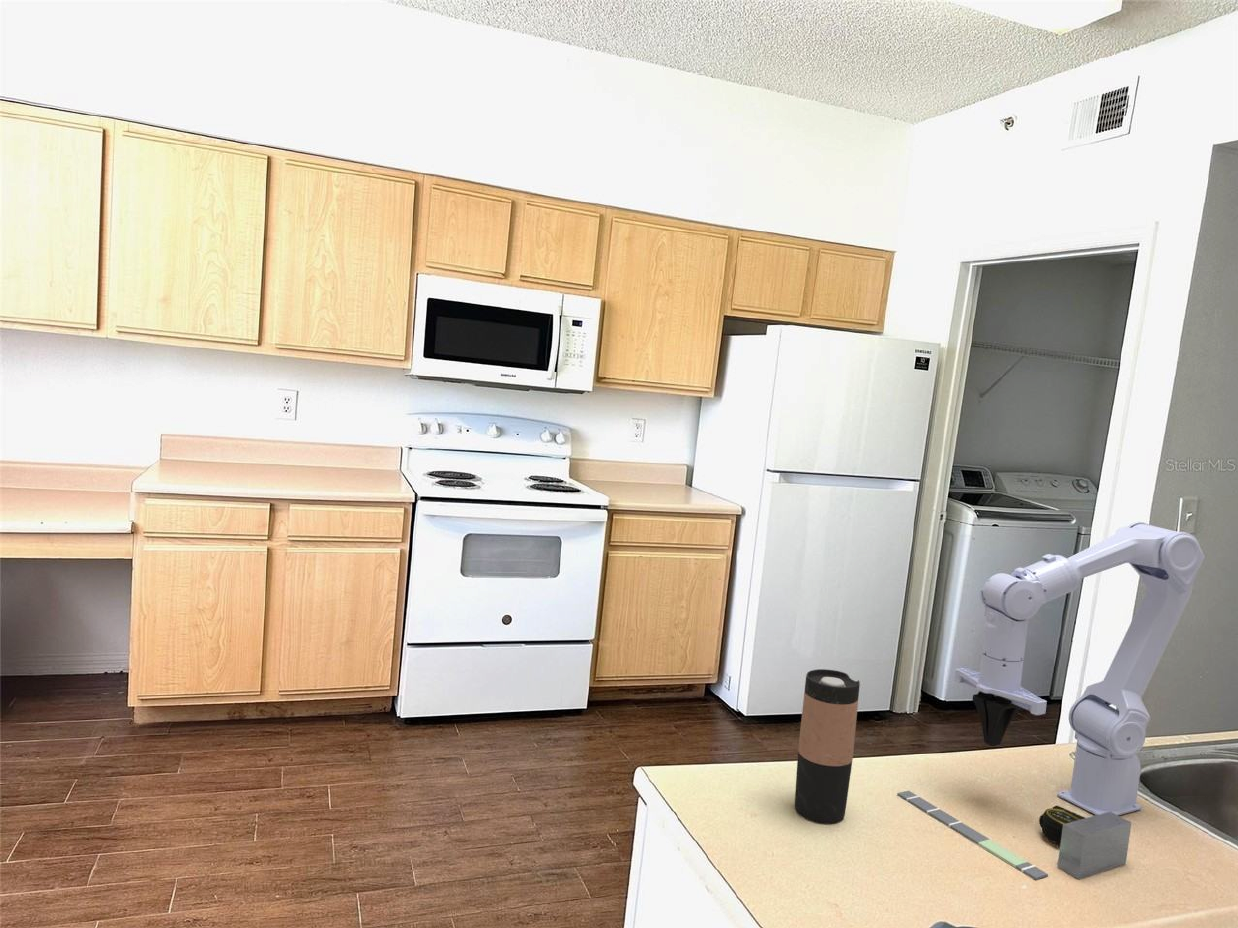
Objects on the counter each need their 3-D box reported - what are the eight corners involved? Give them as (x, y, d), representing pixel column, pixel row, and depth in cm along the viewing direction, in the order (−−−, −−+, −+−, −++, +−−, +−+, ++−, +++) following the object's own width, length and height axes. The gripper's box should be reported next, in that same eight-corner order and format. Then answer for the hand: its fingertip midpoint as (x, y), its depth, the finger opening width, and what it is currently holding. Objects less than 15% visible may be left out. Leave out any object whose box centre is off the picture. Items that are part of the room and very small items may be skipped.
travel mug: (787, 816, 124) (801, 680, 122) (797, 794, 131) (810, 665, 129) (842, 830, 121) (857, 691, 119) (849, 806, 128) (863, 675, 126)
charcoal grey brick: (1100, 850, 121) (1106, 809, 120) (1125, 864, 118) (1131, 821, 117) (1053, 864, 116) (1059, 822, 116) (1078, 879, 113) (1084, 835, 112)
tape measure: (1102, 847, 122) (1105, 822, 122) (1077, 860, 118) (1080, 834, 118) (1054, 825, 128) (1057, 800, 127) (1029, 836, 124) (1032, 811, 123)
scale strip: (908, 792, 134) (909, 789, 134) (1048, 876, 113) (1048, 873, 113) (897, 794, 133) (897, 792, 133) (1035, 880, 112) (1035, 877, 112)
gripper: (944, 642, 134) (935, 727, 135) (1027, 674, 121) (1016, 767, 123) (976, 639, 137) (967, 722, 139) (1060, 669, 125) (1048, 760, 126)
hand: (992, 743), depth 131 cm, fingers closed
